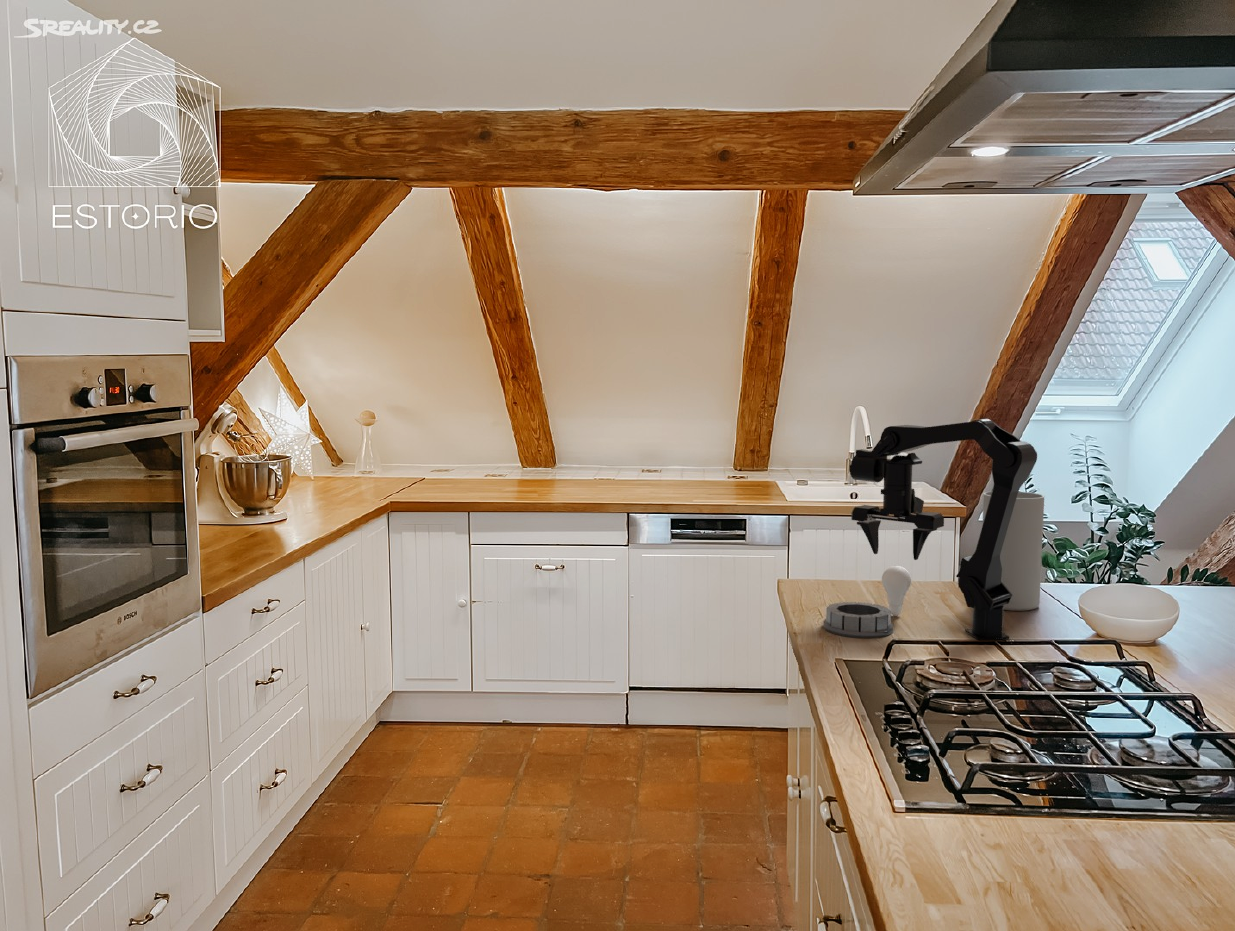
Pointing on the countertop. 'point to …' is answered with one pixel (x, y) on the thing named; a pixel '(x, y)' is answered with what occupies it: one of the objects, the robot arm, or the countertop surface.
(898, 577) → the lightbulb
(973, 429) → the robot arm
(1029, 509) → the cylinder vase
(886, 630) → the socket
